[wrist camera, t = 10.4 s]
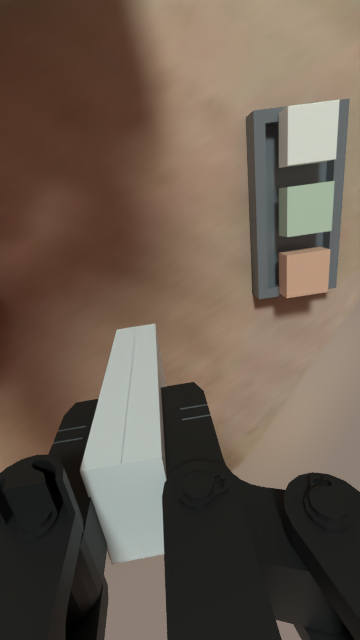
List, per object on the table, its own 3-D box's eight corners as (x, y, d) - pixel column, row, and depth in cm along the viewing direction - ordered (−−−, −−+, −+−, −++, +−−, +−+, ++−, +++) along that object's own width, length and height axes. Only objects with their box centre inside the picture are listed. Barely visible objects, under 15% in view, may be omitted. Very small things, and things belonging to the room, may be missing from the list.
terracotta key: (274, 250, 36) (287, 255, 33) (313, 245, 37) (330, 249, 33) (274, 289, 38) (286, 298, 35) (312, 284, 38) (327, 292, 35)
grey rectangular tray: (245, 117, 32) (253, 110, 30) (335, 106, 33) (349, 98, 30) (252, 293, 39) (258, 299, 37) (325, 282, 40) (336, 287, 38)
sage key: (273, 188, 34) (287, 187, 30) (315, 183, 34) (334, 180, 31) (273, 234, 36) (287, 237, 32) (314, 228, 36) (331, 230, 32)
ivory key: (272, 117, 31) (288, 106, 28) (318, 111, 31) (339, 99, 28) (273, 169, 33) (287, 165, 30) (316, 163, 33) (335, 159, 30)
